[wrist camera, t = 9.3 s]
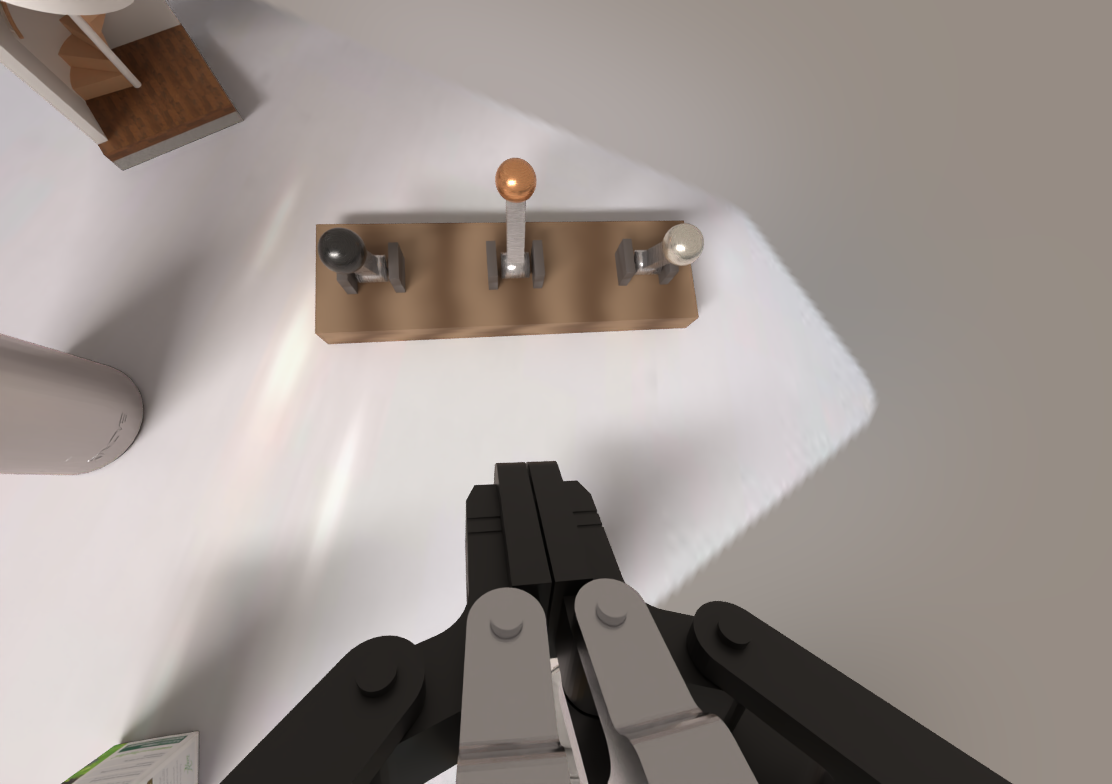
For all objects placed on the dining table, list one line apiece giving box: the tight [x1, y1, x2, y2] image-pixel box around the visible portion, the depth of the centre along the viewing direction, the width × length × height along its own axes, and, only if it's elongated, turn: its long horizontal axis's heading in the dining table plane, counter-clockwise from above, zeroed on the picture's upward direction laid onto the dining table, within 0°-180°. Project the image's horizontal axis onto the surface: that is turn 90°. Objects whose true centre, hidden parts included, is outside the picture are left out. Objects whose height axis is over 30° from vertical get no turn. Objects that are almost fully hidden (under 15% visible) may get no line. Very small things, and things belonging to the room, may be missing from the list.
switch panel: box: [315, 221, 699, 344], centre depth 41 cm, size 34×10×6 cm, turn 95°
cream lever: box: [633, 223, 704, 275], centre depth 38 cm, size 3×3×11 cm
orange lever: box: [495, 158, 536, 279], centre depth 36 cm, size 3×3×11 cm
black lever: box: [317, 227, 390, 283], centre depth 34 cm, size 3×3×11 cm
